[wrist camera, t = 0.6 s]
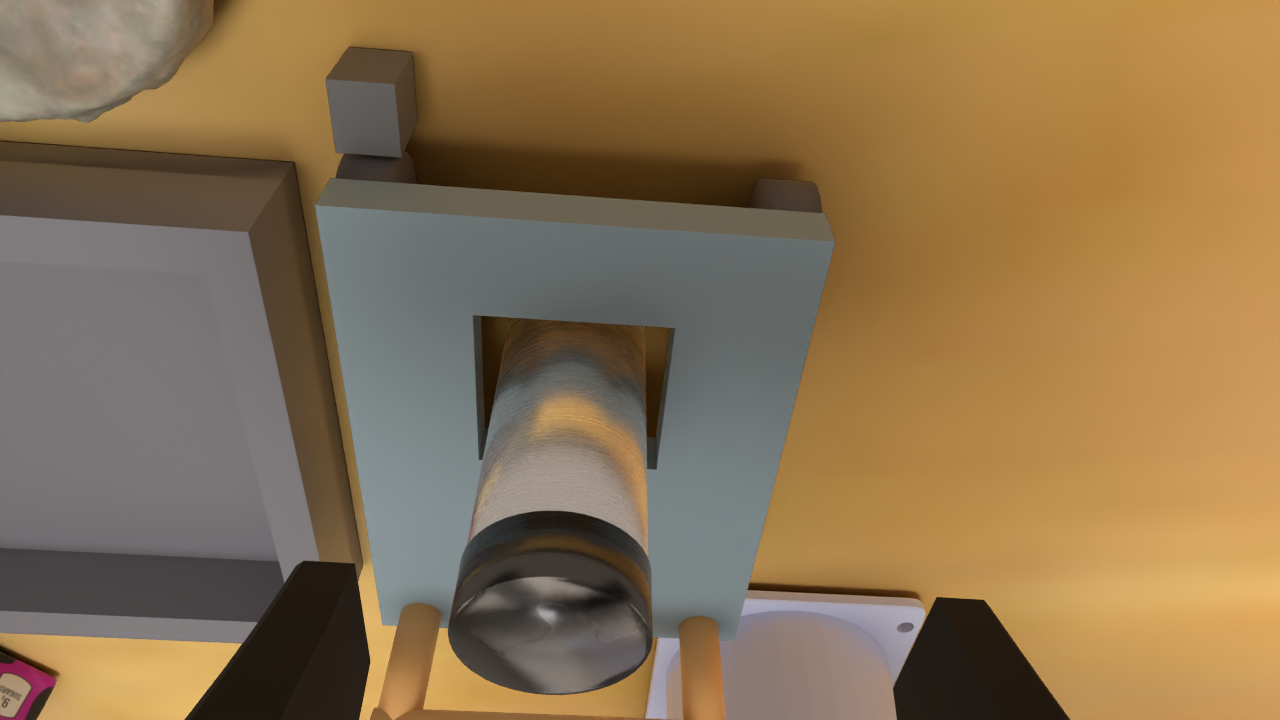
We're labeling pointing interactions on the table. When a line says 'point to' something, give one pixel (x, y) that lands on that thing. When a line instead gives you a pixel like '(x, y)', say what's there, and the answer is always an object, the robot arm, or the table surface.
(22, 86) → the elongated rock
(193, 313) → the tray
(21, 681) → the candy bar box
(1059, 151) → the table surface
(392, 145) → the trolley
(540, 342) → the pin
